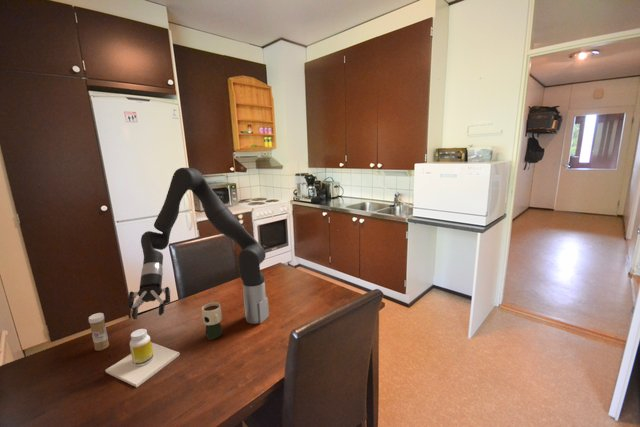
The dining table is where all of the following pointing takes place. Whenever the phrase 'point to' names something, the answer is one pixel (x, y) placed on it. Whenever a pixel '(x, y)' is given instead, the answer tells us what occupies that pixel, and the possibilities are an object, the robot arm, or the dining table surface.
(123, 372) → the ceramic tile
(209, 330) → the character mug
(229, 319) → the dining table surface
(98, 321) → the sprinkles bottle
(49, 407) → the dining table surface
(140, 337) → the pill bottle
